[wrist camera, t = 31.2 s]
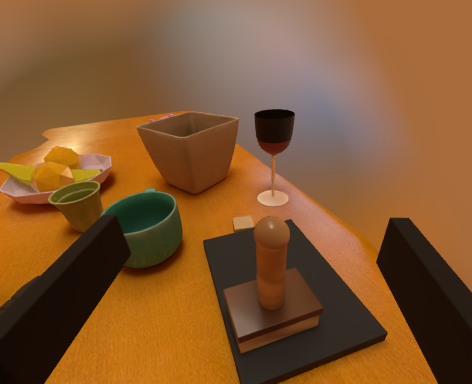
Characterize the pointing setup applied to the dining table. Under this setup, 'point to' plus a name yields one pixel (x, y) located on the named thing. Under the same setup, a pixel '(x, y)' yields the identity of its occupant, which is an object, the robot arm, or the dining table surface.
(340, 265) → the dining table surface
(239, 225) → the tan square block
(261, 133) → the wineglass
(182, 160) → the flower pot
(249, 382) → the mat
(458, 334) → the robot arm
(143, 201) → the mug
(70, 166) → the fruit bowl
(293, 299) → the brush
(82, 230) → the plant pot
